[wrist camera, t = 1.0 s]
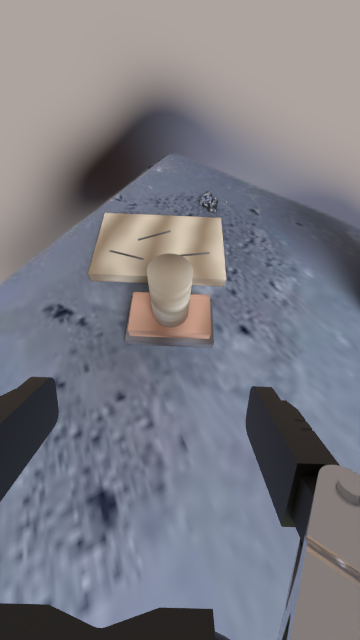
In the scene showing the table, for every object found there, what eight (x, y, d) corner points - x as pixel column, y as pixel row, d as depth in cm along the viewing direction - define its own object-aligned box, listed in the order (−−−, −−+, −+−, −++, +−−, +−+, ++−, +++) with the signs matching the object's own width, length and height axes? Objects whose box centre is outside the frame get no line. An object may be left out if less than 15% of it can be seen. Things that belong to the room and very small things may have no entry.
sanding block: (209, 304, 30) (225, 247, 21) (211, 347, 27) (230, 302, 18) (133, 301, 30) (117, 243, 21) (127, 344, 27) (105, 297, 18)
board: (219, 225, 37) (221, 217, 36) (223, 286, 31) (226, 279, 30) (107, 221, 37) (104, 212, 35) (91, 280, 31) (87, 273, 30)
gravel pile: (221, 192, 43) (222, 181, 41) (238, 216, 39) (240, 205, 37) (186, 197, 42) (186, 186, 40) (200, 223, 38) (201, 212, 36)
